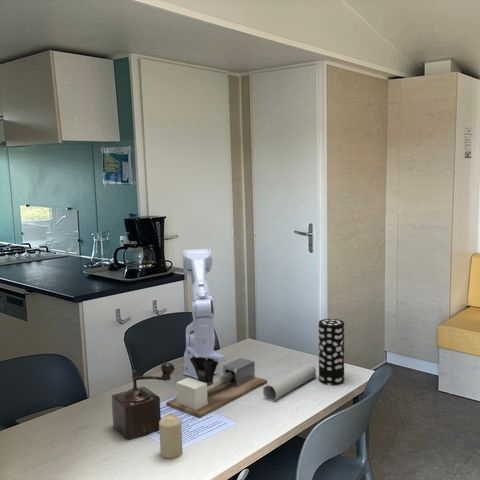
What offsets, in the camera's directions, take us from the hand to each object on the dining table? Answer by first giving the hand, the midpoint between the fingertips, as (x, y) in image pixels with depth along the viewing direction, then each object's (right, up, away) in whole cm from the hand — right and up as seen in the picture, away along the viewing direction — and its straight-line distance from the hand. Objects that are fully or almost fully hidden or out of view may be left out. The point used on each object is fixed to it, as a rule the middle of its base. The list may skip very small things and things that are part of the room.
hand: (205, 380), depth 170 cm
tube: (+28, -5, +9) cm, 30 cm away
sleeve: (+10, -4, +13) cm, 17 cm away
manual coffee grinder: (-16, -9, -15) cm, 24 cm away
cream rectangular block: (-4, -7, -4) cm, 9 cm away
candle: (-7, -11, -30) cm, 33 cm away
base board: (+4, -6, +5) cm, 9 cm away
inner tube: (+2, -4, +2) cm, 5 cm away
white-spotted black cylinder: (+41, -4, +14) cm, 44 cm away
